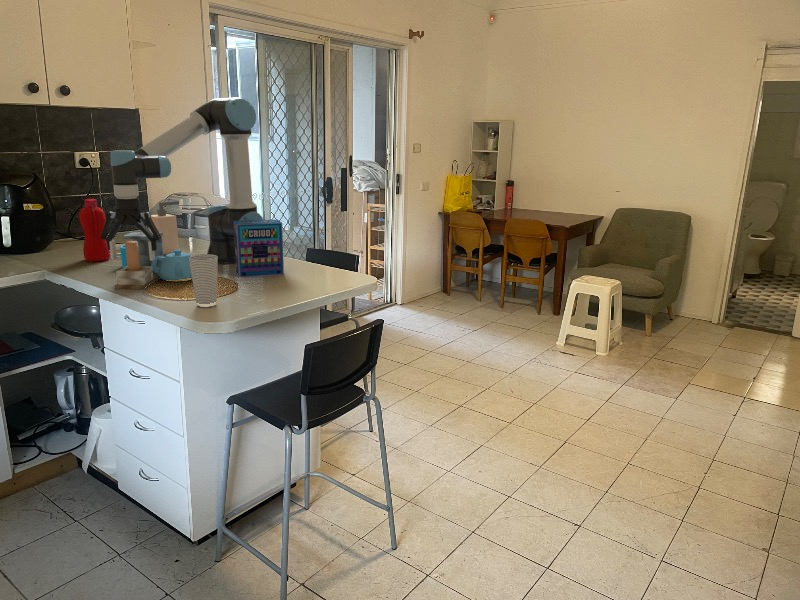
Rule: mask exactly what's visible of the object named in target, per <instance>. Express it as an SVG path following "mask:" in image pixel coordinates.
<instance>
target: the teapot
mask: <svg viewBox="0 0 800 600" xmlns="http://www.w3.org/2000/svg"><path fill="white" fill-rule="evenodd" d="M190 256H192V255H191V254H190V253H188V252H183V250H182V249H179V250H174V253H170V254H165V256H163V257H162V256H155V259H154V260H153V261H152V264H151V266H152V268H153V271H154V272H156V273H157V274H158V275H159V276H160V277H161V278H160V279H161V280H163V281H164V280H179V279H187V278H192V275H191V269H190V263H189V257H190ZM157 260H161V261H162V263H161V265H160V268H159V267H157V266H156V263H157Z"/></svg>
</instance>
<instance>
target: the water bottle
mask: <svg viewBox="0 0 800 600" xmlns="http://www.w3.org/2000/svg"><path fill="white" fill-rule="evenodd" d="M78 215H79V222H80V225H81V227H82V231H83V234H84V239H83V249H82V252H83V257H84V260H85V261H88V262H89V263H93V262H105V261H109V260H110V259H111V252H110V250H108V248H107V241H106V240H104V239H101V238H100V236H101V234H102V231H103V228H104V225H105V222H106V220H107V217H106V214H105V212H104V210H103V209H102V208H101V207H98V202H97V199H95V198H87V199H86V198H85V199H84V207H83V208H82V209H80V211H79V213H78Z"/></svg>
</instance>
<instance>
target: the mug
mask: <svg viewBox="0 0 800 600" xmlns="http://www.w3.org/2000/svg"><path fill="white" fill-rule="evenodd" d="M119 249H120V258H121V267H122V268H124V267H126V266H127V257H126V247H125V244H124V245H121V246H119ZM122 268H121V269H122Z"/></svg>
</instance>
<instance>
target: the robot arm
mask: <svg viewBox="0 0 800 600" xmlns="http://www.w3.org/2000/svg"><path fill="white" fill-rule="evenodd" d="M256 122H257V112H256V110H255V107H254V106H253V104H252V103H251V102H249V101H248V99H245V98H243V97H242V98H241V97H236V96H235V97H219V98H218V97H217V98H213V99H211V100H209V101H208V102H205V103H203V104H202V105H200V106H199V107H197V108H195V109H194V110H193V111H191V112H190V113H189V117H187V118H186V119H184V120H182V121H181V122H179V123H177V124H176V125H175V126H173V127H171V128H170V129H167V130H166V131H165V132H163V133H162V134H159V136H156V137H155V138H153V139H151V141H149V142H148V143H146V144H144V145H143V146H141V147H139V148H138V149H136V150H133V149H132V150H129V149H128V150H125V149H123V150H122V149H119V150H118V149H116V150H115V149H114V150H111V152H110V166H111V174H112V183H113V195H114V197H115V199H114V202H115V204H114V205H115V210H116V212H115V211H114V212H113V210H111V211H108V212H106V221H105V225H104V228H103V231H102V234H101V236H100V238H101V239H104V240H106V241H107V248H108V250H110V259H111V261H115V260H117V259H118V255H117V246H116V240H115V239H114V238H115V236H116V235H117V234H118V232H119V230H120V229H121V228H122V227H123V226H136V227H137V228H138V229H139V230H140V232H143V233H144V234H145V235H146V236H147V238H148V239H149V240H150V241H149V242H148V245H149V256H150V261H153V260H154V259H155V253H154V251H155V250H156V249H157V246H156V241H157V240H159V239H161V235H160V233H159V231H158V230H157V228H156V226H155V224H154V222H153V221H152V219H151V215H152V214H151V212H150V211H146V212H142V211H141V203H140V202H141V201H140V198H139V195H140V193H139V185H138V184H139V183H138V182H139V181H138V179H139V180H140V179H163V178H164V179H165V178H168V177H169V176H170V175H171V173H172V164H171V160H170V159H169V156H171V155H172V154H174V153H176V152H177V151H179V150H180V149H182V148H184V146H186V145H188V144H189V143H191V142H192V141H194V140H195V139H197V138H198V137H200V136H202V135H203V136H204V135H205V136H206V135H208V134H210V133H212V132H215V131H218V130H219V133H220V134H219V135H220V136H221V137H222V138H223V139H224V144H225V145H224V147H225V155H226V156H225V157H226V167H227V169H226V170H227V179H228V190H229V191H228V193H229V203H228V204H222V205H212V206H209V207H208V209H207V219H208V220H207V221H208V235H209V244H208V248H207V252H206V254H212V255H216V256H218V264H234V263H236V257H235V239H234V221H249V220H264V217H263V216H262V215H261V214H260V213H259V212H258V206H257V204H256V203H255V202H254V201H253V190H252V177H251V176H252V175H251V167H250V166H251V165H250V164H251V163H250V151H249V138H250V137H251V136H252V129H253V127H254V126H255V124H256ZM115 217H116V218H117V219H118V220H117V222H116V223H115V225H114V226H113V228H112V225H113V224H112V223H113V222H114V219H115ZM141 218H143V219H144V221H145V223H146V224H147V226H148V228H147V226H146V225H145V224H144V222H143V221H142V220H141ZM111 228H112V229H111ZM149 228H150V230H151V232H152V233H153V234H152V233H151V232H150V231H149Z"/></svg>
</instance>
